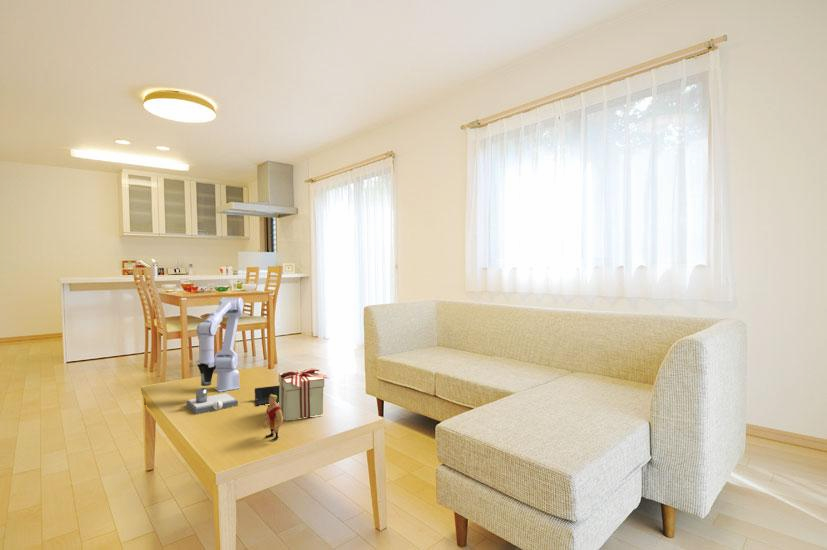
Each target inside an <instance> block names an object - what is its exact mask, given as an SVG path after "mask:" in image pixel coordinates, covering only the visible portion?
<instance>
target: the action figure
mask: <svg viewBox="0 0 827 550" xmlns="http://www.w3.org/2000/svg"><path fill="white" fill-rule="evenodd" d="M276 398H277V396H276V395H272V394H270V396H269V404H270V405H267V407H266V410H265V411H266V415H265V420H264V422H263V426H262V428H263V429H267V428H269V430H270V434H267V435H265V436H266V437H265V438H268V437H267V436H270V437H273V438H272V439H271V441H272V440H275V439H277V438H278V439H279V436H278V435H279V430H280V427H281V425H282V424H283V422H284V417H283V416H282V412H281V408H280V407H279V404H277V403H276ZM276 419H277V420H278V421H277V425H276ZM268 421H269V427H268ZM273 435H274V436H273ZM278 439H277V440H278ZM275 441H276V440H275Z"/></svg>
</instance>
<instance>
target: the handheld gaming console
mask: <svg viewBox="0 0 827 550" xmlns="http://www.w3.org/2000/svg"><path fill="white" fill-rule="evenodd" d="M279 387H280V385H272V386H264V387H263V386H262V387H256V388H255V387H254V403H255V406H256V407H260V406H259V405H264V406H266V405H265V404H269V396H270V394H272V395H276V396H277V398H276V403H278V402H279Z"/></svg>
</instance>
